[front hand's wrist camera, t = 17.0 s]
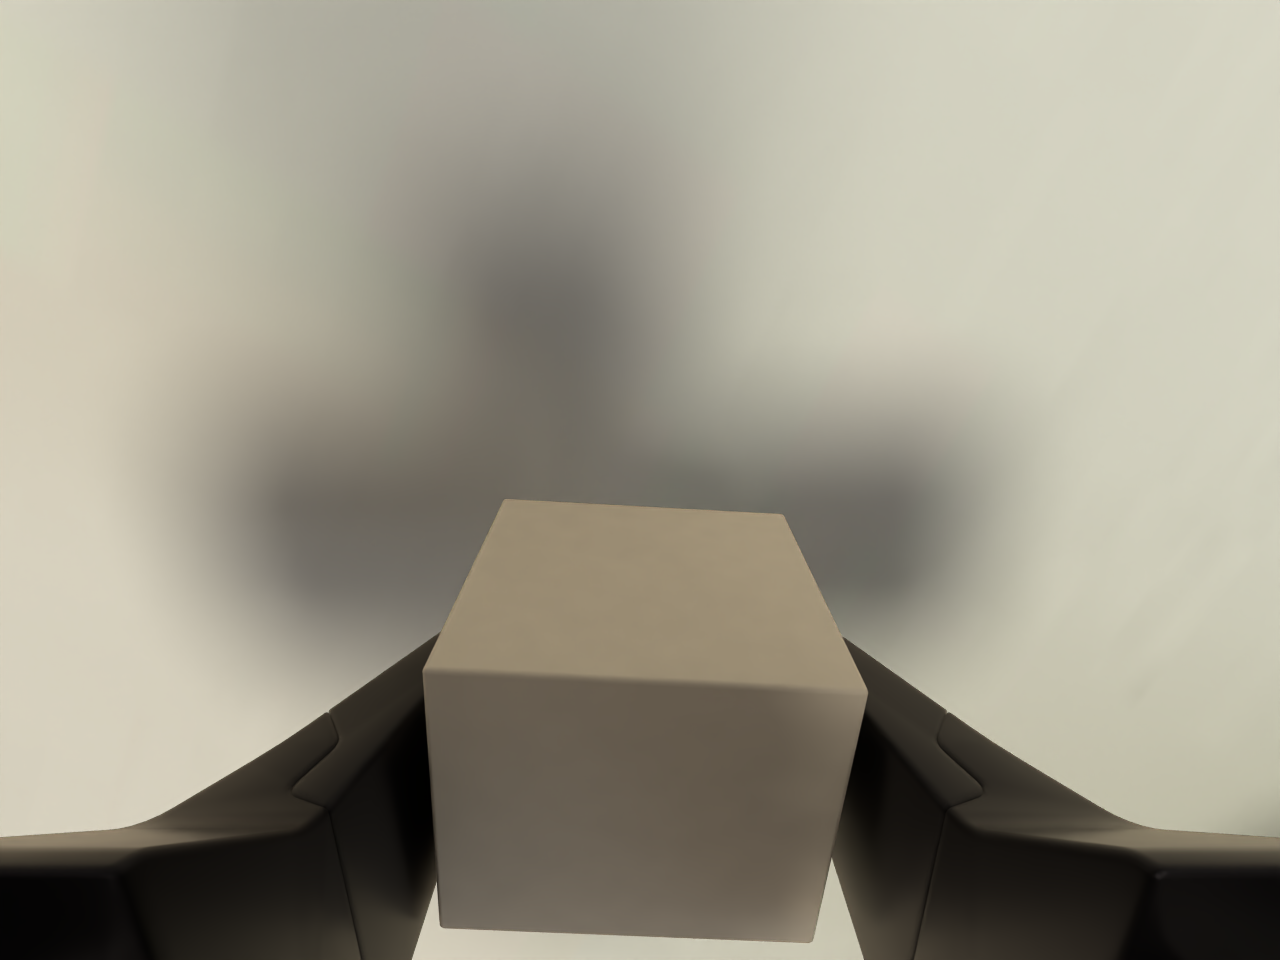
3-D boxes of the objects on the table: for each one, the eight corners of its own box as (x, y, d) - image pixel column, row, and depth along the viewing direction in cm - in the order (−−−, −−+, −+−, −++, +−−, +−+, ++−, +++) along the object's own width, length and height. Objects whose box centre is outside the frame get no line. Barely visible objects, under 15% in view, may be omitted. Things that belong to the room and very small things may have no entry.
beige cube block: (783, 512, 12) (871, 691, 8) (755, 701, 14) (814, 946, 9) (503, 497, 12) (420, 669, 7) (506, 689, 14) (438, 930, 9)
